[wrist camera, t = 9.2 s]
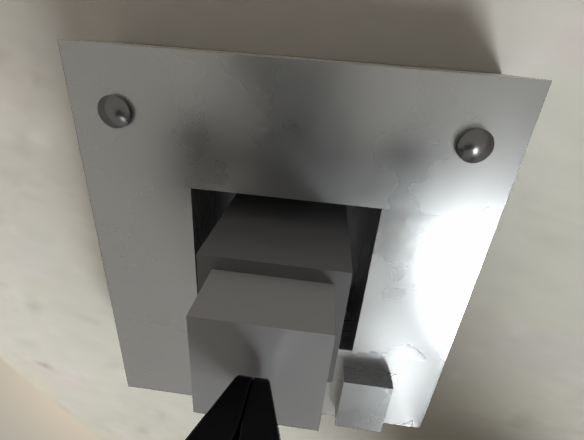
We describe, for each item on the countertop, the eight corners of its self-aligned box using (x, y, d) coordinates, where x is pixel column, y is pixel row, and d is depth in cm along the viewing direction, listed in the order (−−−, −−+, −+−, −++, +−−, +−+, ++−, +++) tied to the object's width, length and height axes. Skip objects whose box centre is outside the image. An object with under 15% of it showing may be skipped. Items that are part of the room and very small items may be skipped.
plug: (331, 291, 16) (332, 443, 10) (237, 279, 16) (179, 419, 10) (345, 203, 14) (357, 323, 8) (238, 191, 14) (166, 298, 8)
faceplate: (407, 373, 19) (424, 445, 15) (156, 340, 19) (119, 401, 16) (502, 74, 12) (570, 82, 9) (114, 42, 13) (36, 38, 9)
